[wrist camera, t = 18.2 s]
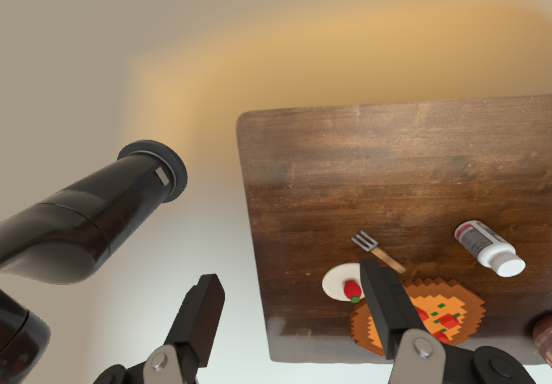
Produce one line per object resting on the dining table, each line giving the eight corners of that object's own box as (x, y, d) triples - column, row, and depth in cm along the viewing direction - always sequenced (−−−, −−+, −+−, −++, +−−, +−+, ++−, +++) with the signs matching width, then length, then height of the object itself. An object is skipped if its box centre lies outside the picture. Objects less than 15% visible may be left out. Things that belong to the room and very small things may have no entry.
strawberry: (349, 291, 54) (354, 307, 50) (338, 284, 53) (342, 300, 49) (362, 283, 52) (368, 299, 48) (350, 275, 51) (356, 291, 47)
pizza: (422, 258, 48) (430, 268, 45) (505, 313, 56) (516, 325, 53) (325, 324, 61) (327, 336, 59) (403, 362, 69) (408, 373, 66)
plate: (347, 306, 57) (348, 307, 57) (311, 283, 54) (311, 285, 53) (389, 280, 52) (389, 282, 52) (351, 254, 48) (351, 255, 48)
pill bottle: (453, 243, 46) (492, 283, 37) (452, 224, 44) (493, 261, 35) (483, 236, 45) (529, 275, 36) (483, 216, 42) (533, 252, 34)
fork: (406, 264, 49) (409, 268, 48) (395, 271, 50) (398, 275, 49) (361, 229, 45) (363, 233, 44) (351, 237, 46) (352, 241, 45)
